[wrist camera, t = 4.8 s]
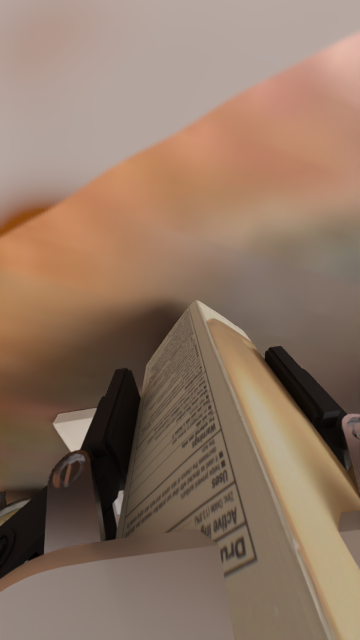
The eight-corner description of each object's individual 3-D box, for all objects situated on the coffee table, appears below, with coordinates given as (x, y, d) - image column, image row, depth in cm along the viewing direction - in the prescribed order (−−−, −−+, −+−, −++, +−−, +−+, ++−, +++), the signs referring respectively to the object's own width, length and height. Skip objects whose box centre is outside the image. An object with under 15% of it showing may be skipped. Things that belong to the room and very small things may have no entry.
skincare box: (192, 387, 15) (247, 817, 4) (144, 363, 14) (39, 879, 3) (248, 327, 13) (684, 897, 2) (197, 293, 12) (572, 1272, 1)
